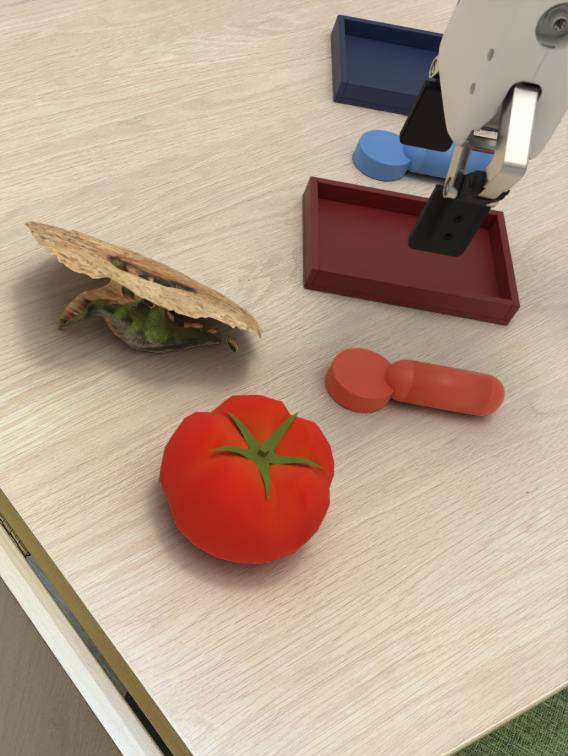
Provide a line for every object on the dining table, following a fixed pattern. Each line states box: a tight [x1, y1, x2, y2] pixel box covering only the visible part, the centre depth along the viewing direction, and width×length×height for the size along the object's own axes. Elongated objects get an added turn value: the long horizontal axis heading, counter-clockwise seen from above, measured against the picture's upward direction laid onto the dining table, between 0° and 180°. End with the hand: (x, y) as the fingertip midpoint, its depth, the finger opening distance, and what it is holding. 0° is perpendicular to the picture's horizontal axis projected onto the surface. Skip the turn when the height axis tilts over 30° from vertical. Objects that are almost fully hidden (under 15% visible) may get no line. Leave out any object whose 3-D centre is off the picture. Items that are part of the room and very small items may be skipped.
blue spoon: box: [352, 129, 493, 182], centre depth 86 cm, size 12×5×3 cm, turn 82°
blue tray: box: [330, 13, 498, 133], centre depth 93 cm, size 16×11×2 cm
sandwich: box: [23, 221, 265, 355], centre depth 71 cm, size 18×14×8 cm
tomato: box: [158, 394, 335, 565], centre depth 62 cm, size 11×11×8 cm
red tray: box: [302, 175, 521, 326], centre depth 80 cm, size 16×11×2 cm
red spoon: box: [324, 347, 506, 417], centre depth 71 cm, size 12×5×3 cm, turn 82°
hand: (427, 195), depth 60 cm, fingers open, 9 cm apart
